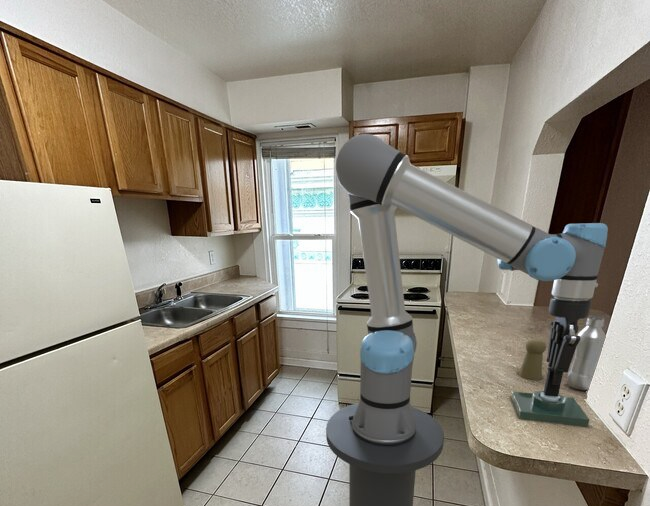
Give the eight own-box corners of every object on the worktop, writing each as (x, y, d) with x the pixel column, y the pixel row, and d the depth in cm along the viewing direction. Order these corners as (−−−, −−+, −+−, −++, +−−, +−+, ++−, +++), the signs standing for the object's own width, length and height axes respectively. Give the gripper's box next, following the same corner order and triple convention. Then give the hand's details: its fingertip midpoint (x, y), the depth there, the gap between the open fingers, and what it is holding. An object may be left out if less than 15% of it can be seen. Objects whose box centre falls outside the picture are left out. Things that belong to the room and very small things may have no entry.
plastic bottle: (592, 385, 100) (610, 317, 93) (593, 395, 94) (612, 323, 87) (565, 380, 103) (581, 314, 96) (564, 389, 98) (581, 319, 91)
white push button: (541, 405, 85) (542, 398, 84) (537, 398, 89) (538, 390, 88) (560, 407, 84) (561, 400, 83) (555, 400, 87) (556, 392, 87)
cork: (541, 381, 103) (548, 345, 100) (518, 377, 106) (524, 342, 103) (541, 373, 108) (549, 339, 104) (519, 370, 111) (525, 337, 107)
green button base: (519, 418, 84) (522, 403, 83) (511, 398, 94) (513, 384, 93) (587, 427, 80) (591, 411, 79) (571, 404, 90) (575, 390, 88)
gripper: (603, 304, 70) (577, 409, 78) (580, 293, 82) (560, 385, 90) (560, 303, 73) (539, 405, 81) (544, 292, 84) (527, 382, 92)
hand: (550, 394), depth 85 cm, fingers closed
